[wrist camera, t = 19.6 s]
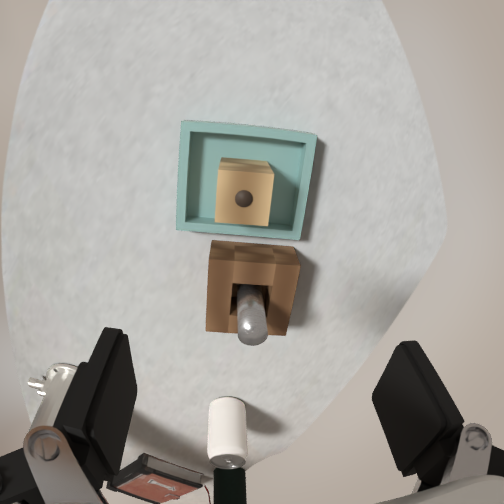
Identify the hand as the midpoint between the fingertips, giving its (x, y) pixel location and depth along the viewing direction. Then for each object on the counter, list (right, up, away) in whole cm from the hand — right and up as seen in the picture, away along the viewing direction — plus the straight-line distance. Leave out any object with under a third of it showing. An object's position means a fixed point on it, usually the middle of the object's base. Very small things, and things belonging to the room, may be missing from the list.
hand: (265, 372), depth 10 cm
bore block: (-1, +1, +31) cm, 31 cm away
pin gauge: (-1, 0, +30) cm, 30 cm away
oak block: (-2, +12, +25) cm, 28 cm away
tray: (-1, +12, +25) cm, 28 cm away
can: (-5, -23, +43) cm, 49 cm away
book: (-27, -57, +58) cm, 86 cm away
